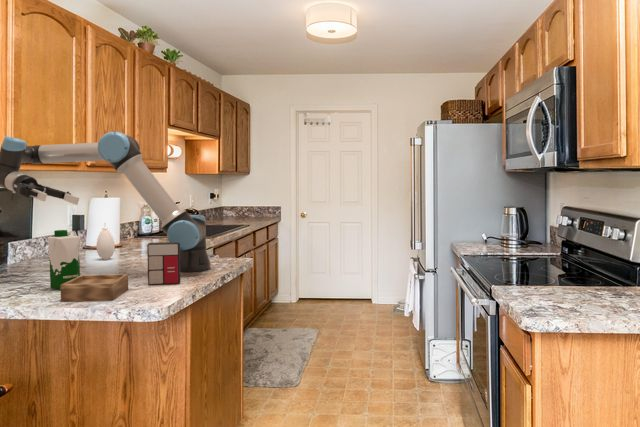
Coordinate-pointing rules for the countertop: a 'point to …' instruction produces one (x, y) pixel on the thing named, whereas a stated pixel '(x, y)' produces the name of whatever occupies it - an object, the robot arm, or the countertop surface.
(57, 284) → the soya milk
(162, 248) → the beige and red box
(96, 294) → the wooden tray
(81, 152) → the robot arm
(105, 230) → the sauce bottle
